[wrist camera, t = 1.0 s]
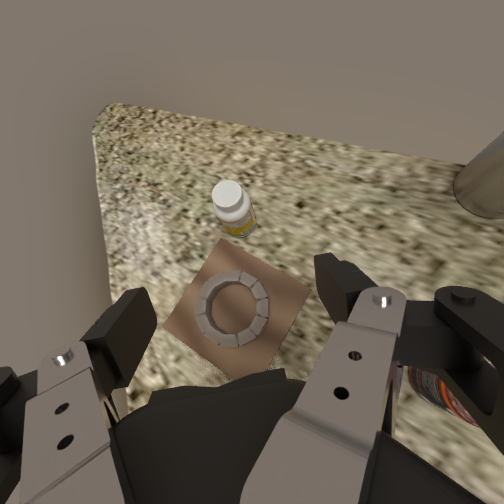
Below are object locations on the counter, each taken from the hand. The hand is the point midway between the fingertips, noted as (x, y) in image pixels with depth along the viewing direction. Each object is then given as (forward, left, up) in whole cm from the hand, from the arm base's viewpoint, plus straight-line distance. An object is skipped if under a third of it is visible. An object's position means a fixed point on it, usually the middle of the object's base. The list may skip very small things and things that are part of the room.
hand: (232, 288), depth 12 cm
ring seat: (+2, -5, -26) cm, 27 cm away
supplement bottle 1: (-10, -12, -26) cm, 31 cm away
